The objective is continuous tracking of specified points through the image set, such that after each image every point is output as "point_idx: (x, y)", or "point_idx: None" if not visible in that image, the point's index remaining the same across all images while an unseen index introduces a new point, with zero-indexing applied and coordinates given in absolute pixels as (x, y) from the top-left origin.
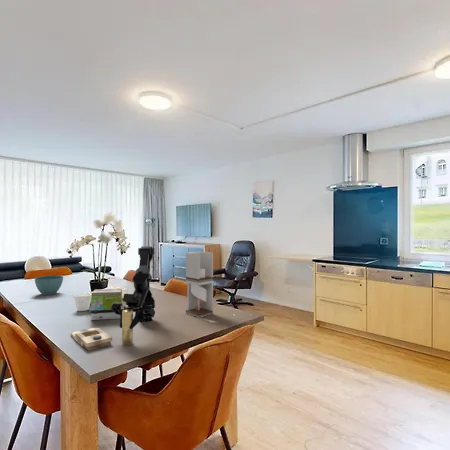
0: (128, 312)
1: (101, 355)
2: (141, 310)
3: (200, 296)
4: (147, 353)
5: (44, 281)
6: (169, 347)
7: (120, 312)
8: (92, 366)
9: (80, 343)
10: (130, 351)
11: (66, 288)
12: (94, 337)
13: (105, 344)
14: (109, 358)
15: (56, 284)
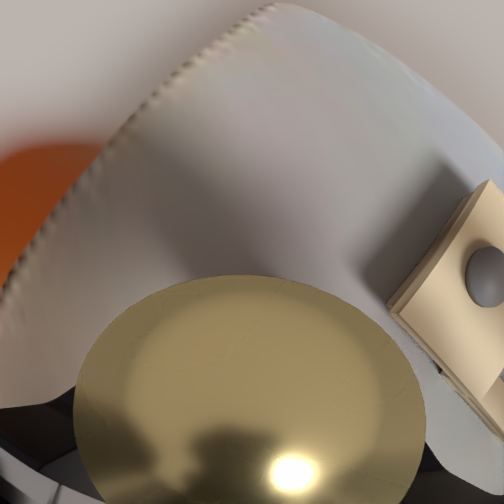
0: (144, 299)
1: (354, 134)
2: (14, 496)
3: None
4: (93, 189)
5: None
6: (15, 282)
7: (452, 483)
8: (320, 36)
9: None
10: (195, 202)
11: None
12: (501, 261)
13: (413, 274)
14: (285, 102)
15: None
